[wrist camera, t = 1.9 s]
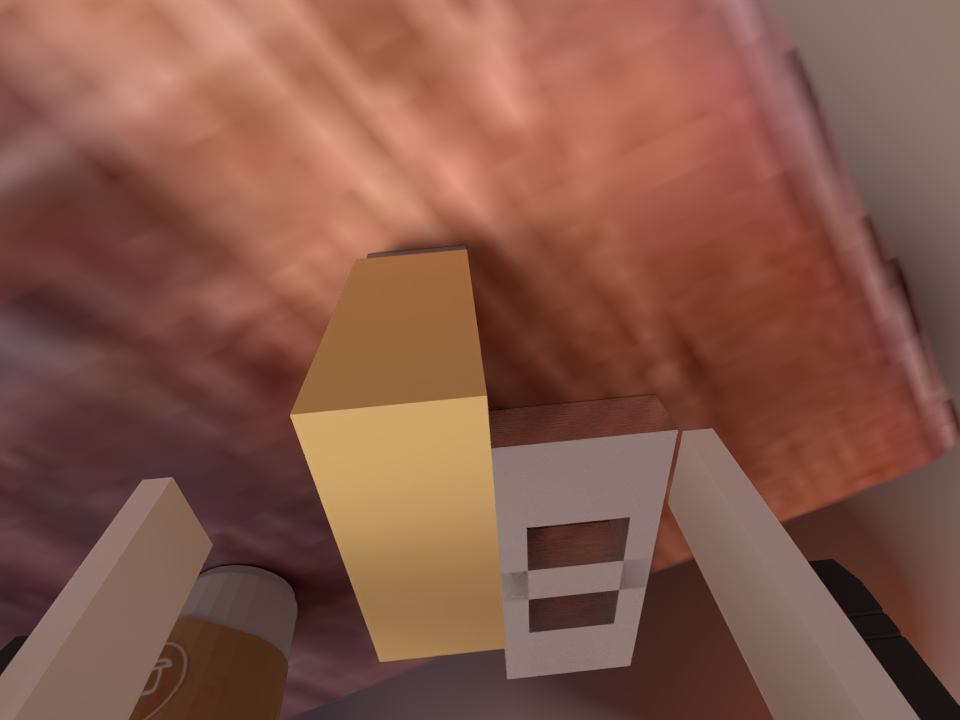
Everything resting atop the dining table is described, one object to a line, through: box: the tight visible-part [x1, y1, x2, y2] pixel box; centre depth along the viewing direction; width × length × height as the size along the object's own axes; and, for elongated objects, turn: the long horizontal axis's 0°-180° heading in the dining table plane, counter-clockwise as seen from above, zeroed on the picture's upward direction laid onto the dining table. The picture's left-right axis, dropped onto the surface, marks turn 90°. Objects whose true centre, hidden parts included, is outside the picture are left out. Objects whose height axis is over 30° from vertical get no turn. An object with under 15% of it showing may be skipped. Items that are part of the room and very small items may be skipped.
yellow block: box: [290, 245, 506, 662], centre depth 15 cm, size 9×4×10 cm, turn 4°
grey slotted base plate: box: [488, 394, 678, 679], centre depth 26 cm, size 20×8×2 cm, turn 4°
